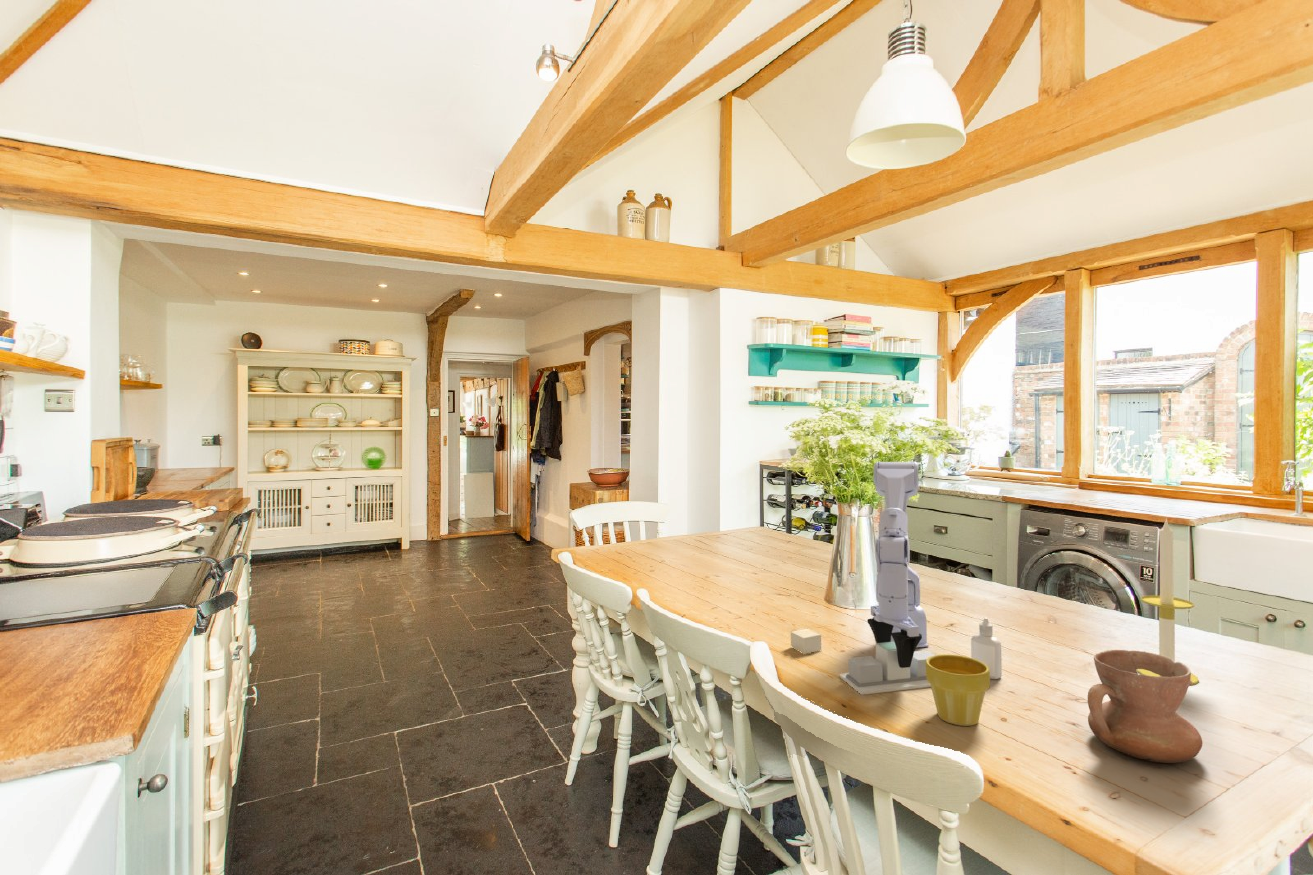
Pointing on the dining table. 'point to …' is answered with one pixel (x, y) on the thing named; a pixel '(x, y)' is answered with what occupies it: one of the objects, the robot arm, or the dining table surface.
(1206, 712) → the dining table surface
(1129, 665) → the ceramic jug
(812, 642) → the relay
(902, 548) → the robot arm
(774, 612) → the dining table surface
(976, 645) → the eye dropper bottle
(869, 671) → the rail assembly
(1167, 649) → the candle
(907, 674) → the block
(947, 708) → the plant pot
